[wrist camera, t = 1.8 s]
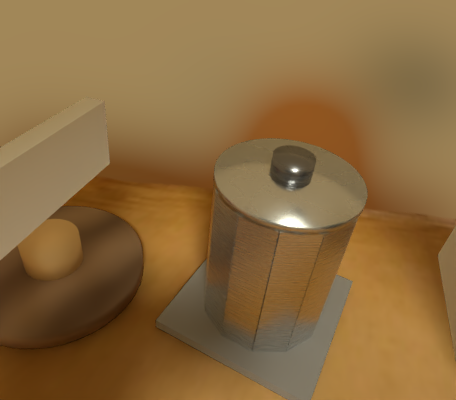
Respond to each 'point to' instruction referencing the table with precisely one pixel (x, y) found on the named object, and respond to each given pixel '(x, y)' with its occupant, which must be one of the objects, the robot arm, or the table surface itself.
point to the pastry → (52, 250)
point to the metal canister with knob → (277, 239)
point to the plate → (72, 285)
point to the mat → (247, 360)
